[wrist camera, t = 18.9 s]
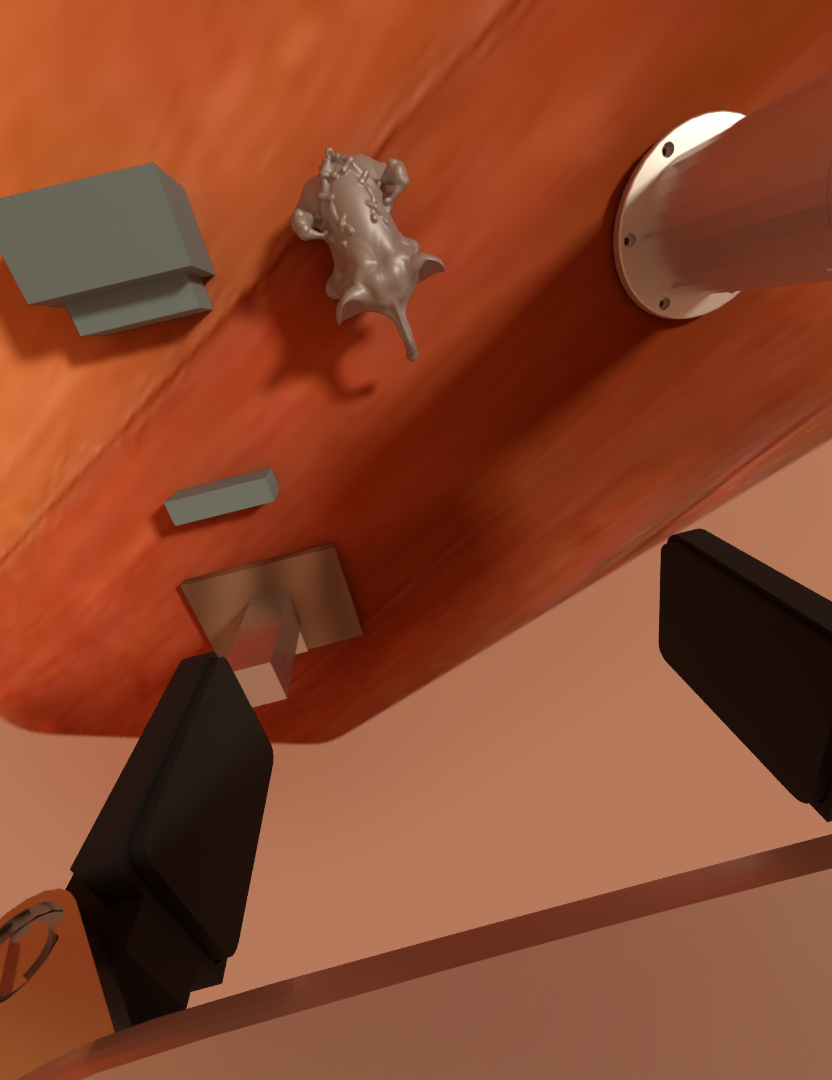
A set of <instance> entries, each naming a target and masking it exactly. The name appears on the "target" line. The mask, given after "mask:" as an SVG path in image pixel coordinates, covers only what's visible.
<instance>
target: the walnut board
mask: <svg viewBox="0 0 832 1080" xmlns="http://www.w3.org/2000/svg"><path fill="white" fill-rule="evenodd" d="M180 587H181V588H182V590H183V592H184V594H185V596H186V598H187V600H188V602H189V604H190V606H191V608H192V609H193V611H194V613H195V615H196V617H197V619H198V621H199V623H200V625H201V627H202V628H203V630H204V632H205V634H206V636H207V638H208V640H209V642H210V644H211V646H212V647H213V649H214V651H215V653H216V655H217V656H218V657H225V658H226V659H228V657H229V654H230V651H231V649H232V646H233V644H234V641H235V639H236V636H237V634H238V631H239V629H240V626H241V624H242V621H243V618H244V616H245V613H246V611H247V608H248V606H249V603H250V601H251V600H254V599H258V598H262V597H266V596H270V595H273V594H277V593H281V592H285V591H289V592H290V595H291V597H292V600H293V602H294V605H295V607H296V609H297V612H298V614H299V617H300V619H301V622H302V624H303V627H304V629H305V631H306V634H307V636H308V639H309V641H310V642H309V649H312V648H316V647H320V646H324V645H328V644H332V643H336V642H340V641H344V640H348V639H352V638H355V637H359V636H363V627H362V624H361V621H360V618H359V615H358V612H357V609H356V606H355V603H354V600H353V597H352V594H351V591H350V588H349V585H348V582H347V579H346V576H345V573H344V570H343V567H342V564H341V561H340V558H339V555H338V552H337V549H336V546H335V543H331V544H327V545H323V546H319V547H315V548H311V549H307V550H303V551H299V552H295V553H291V554H287V555H283V556H279V557H275V558H271V559H267V560H263V561H259V562H255V563H251V564H247V565H243V566H239V567H235V568H231V569H227V570H223V571H219V572H215V573H211V574H207V575H203V576H199V577H195V578H191V579H187V580H184V581H183V583H182V584H181V585H180Z"/></svg>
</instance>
